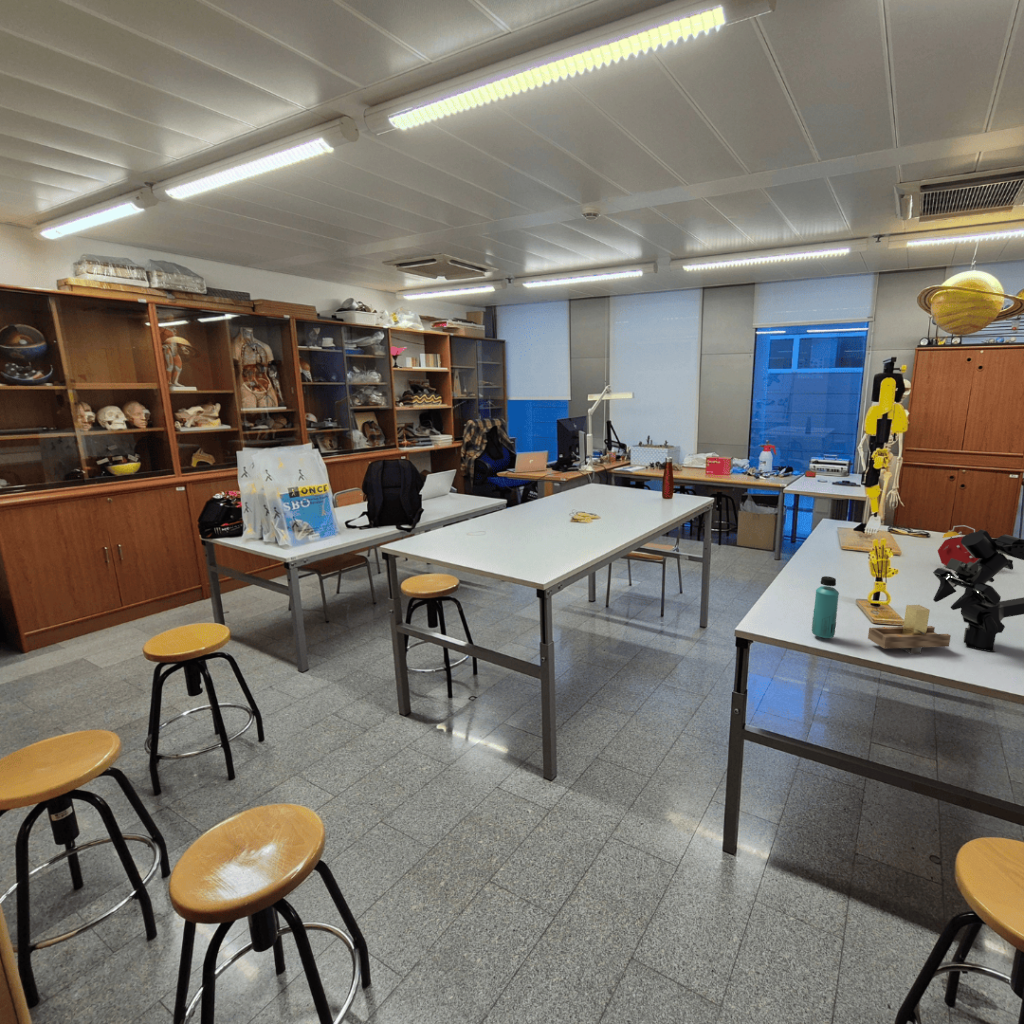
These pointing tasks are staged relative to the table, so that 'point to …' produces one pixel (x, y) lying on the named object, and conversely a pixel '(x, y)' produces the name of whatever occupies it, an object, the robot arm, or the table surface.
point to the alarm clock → (954, 549)
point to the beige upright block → (915, 620)
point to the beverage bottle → (825, 609)
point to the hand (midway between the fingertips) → (942, 604)
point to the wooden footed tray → (907, 639)
